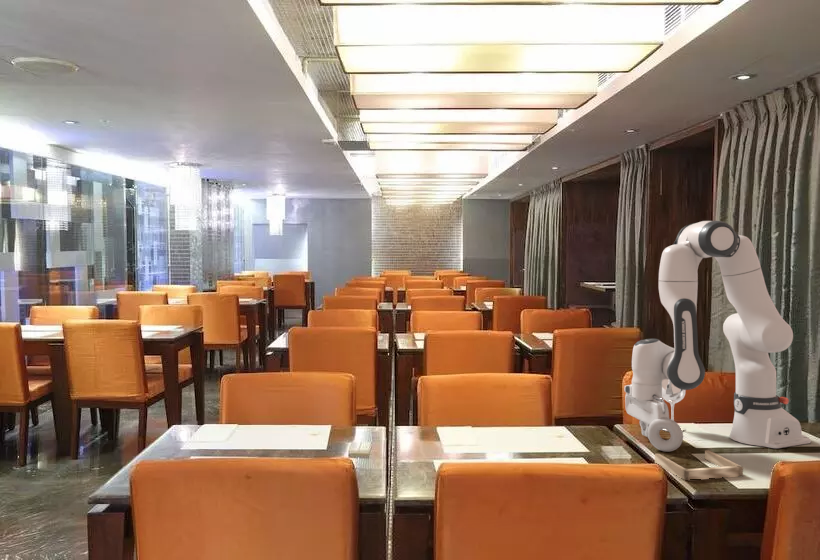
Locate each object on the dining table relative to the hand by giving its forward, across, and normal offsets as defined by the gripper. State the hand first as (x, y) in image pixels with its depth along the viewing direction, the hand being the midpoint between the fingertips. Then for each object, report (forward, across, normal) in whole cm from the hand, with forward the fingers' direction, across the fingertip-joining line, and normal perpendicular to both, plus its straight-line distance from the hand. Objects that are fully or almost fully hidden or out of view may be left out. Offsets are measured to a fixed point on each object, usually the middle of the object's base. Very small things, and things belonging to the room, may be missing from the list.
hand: (646, 436), depth 201 cm
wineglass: (+2, +11, -15) cm, 18 cm away
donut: (+2, -10, 0) cm, 11 cm away
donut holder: (+2, -26, 0) cm, 26 cm away
